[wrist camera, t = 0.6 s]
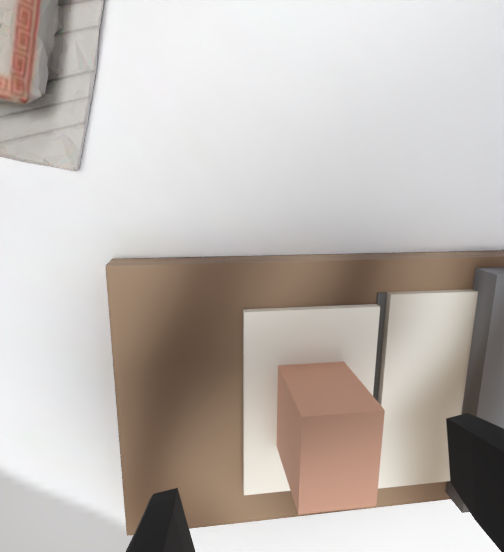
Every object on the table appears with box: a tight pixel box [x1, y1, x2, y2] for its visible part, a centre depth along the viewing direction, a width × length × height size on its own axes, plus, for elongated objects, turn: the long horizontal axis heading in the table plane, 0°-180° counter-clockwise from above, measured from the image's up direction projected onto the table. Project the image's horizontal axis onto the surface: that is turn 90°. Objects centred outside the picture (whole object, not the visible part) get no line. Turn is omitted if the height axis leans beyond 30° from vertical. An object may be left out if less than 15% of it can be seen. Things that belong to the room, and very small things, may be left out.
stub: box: [243, 304, 385, 515], centre depth 17 cm, size 6×9×4 cm, turn 179°
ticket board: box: [106, 251, 504, 535], centre depth 19 cm, size 20×13×3 cm, turn 89°
